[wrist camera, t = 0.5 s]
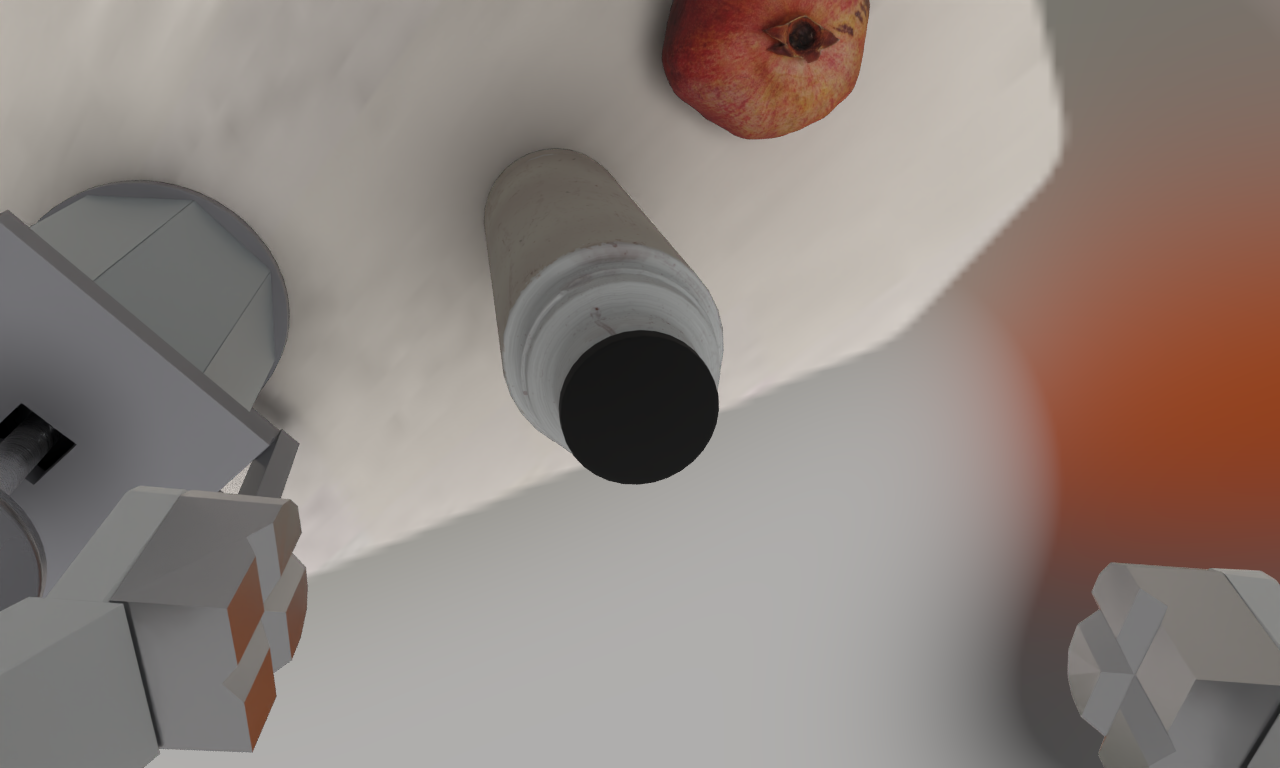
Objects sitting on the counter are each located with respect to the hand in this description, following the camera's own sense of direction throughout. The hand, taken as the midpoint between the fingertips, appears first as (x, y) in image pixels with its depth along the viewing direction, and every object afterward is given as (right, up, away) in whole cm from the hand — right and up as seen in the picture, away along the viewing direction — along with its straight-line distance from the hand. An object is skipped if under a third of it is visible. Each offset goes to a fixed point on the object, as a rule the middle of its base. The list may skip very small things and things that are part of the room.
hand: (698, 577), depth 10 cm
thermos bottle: (-5, +11, +46) cm, 47 cm away
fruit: (+5, +21, +44) cm, 49 cm away
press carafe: (-26, +5, +44) cm, 51 cm away
